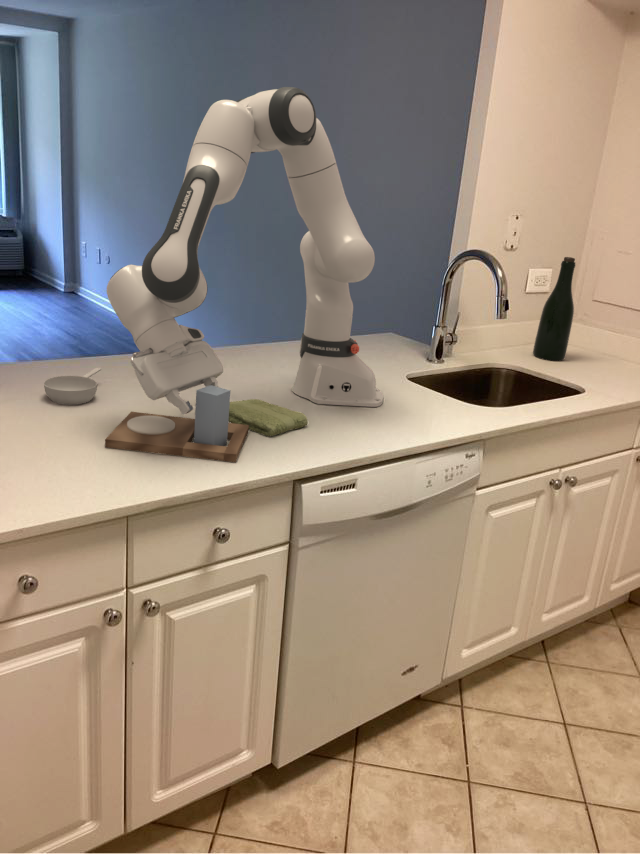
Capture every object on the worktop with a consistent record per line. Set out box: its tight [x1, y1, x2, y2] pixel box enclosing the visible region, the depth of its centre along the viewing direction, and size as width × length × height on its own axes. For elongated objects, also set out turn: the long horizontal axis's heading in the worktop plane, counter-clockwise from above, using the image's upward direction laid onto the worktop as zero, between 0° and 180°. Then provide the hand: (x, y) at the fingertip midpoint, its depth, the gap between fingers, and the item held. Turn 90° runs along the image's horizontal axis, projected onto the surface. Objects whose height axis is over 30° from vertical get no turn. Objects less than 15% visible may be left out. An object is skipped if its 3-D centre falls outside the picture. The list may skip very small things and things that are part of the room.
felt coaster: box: [127, 416, 175, 435], centre depth 140 cm, size 9×9×1 cm
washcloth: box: [228, 398, 309, 437], centre depth 154 cm, size 13×18×3 cm
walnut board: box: [104, 411, 250, 463], centre depth 139 cm, size 24×16×2 cm, turn 87°
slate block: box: [193, 385, 231, 446], centre depth 137 cm, size 4×4×11 cm
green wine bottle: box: [532, 256, 576, 362], centre depth 237 cm, size 10×10×33 cm
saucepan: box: [43, 367, 102, 406], centre depth 158 cm, size 11×18×4 cm, turn 168°
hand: (203, 406), depth 137 cm, fingers open, 8 cm apart
